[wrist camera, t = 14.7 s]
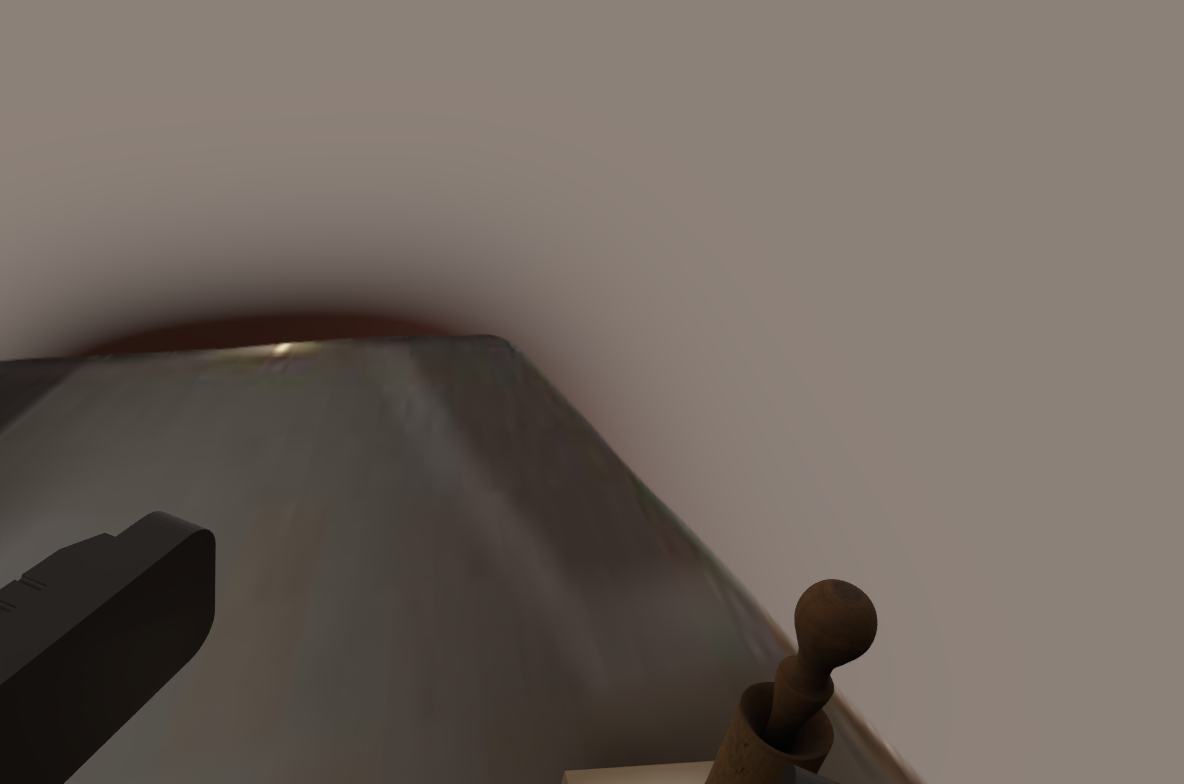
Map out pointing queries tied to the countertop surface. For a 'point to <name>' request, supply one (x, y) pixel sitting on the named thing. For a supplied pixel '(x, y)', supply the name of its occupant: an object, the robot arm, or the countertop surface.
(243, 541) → the countertop surface
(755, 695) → the mortar and pestle
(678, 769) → the plinth
